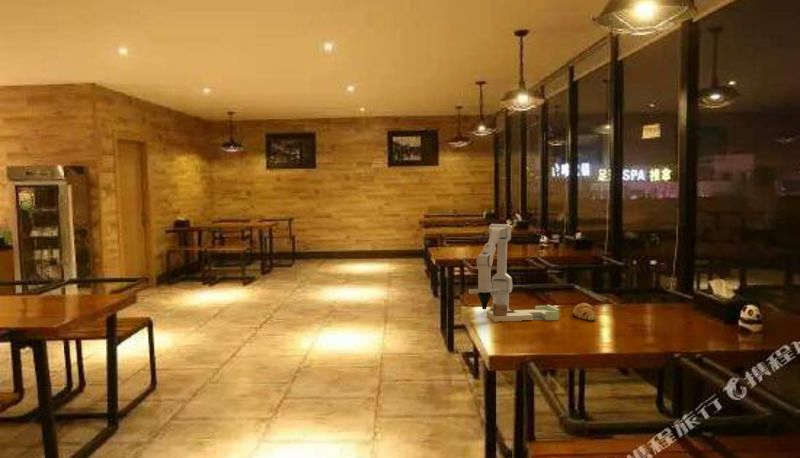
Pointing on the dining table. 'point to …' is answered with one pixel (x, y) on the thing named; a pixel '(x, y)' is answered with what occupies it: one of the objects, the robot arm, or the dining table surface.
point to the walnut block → (499, 309)
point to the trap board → (528, 314)
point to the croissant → (584, 311)
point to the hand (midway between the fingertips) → (484, 308)
